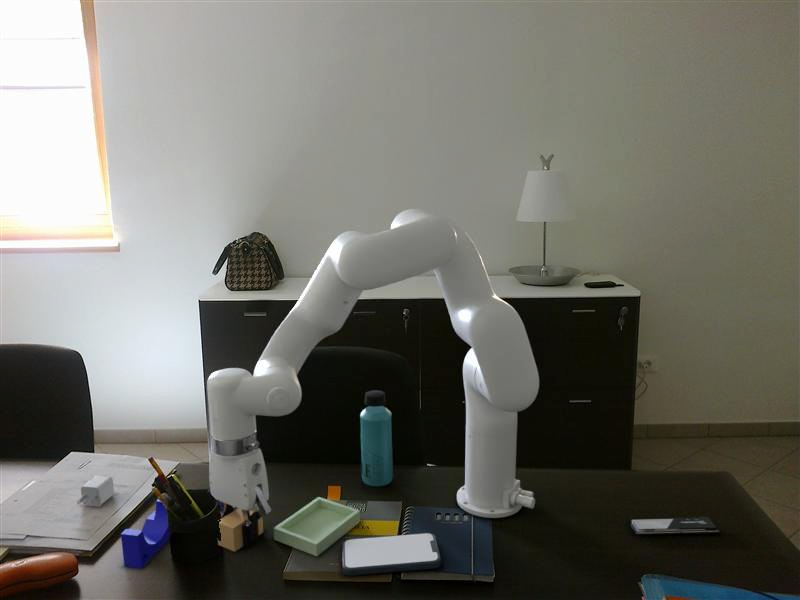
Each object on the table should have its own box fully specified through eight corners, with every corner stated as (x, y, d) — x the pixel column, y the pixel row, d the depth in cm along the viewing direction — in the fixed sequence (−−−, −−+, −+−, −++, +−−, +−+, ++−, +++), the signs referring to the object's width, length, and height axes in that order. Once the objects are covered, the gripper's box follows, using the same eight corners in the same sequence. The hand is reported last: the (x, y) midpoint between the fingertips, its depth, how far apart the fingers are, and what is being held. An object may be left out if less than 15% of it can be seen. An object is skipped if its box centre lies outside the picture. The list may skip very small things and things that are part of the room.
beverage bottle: (399, 483, 138) (398, 390, 134) (381, 497, 133) (379, 401, 128) (373, 475, 141) (371, 384, 137) (354, 488, 136) (351, 394, 132)
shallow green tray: (360, 521, 124) (360, 510, 124) (316, 556, 114) (316, 544, 113) (319, 507, 129) (318, 496, 129) (273, 539, 119) (273, 528, 118)
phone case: (342, 578, 108) (442, 570, 110) (342, 570, 108) (442, 561, 109) (342, 547, 117) (434, 539, 118) (341, 538, 116) (434, 531, 118)
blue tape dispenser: (155, 526, 123) (152, 496, 122) (178, 528, 122) (175, 498, 121) (116, 565, 112) (112, 532, 110) (141, 568, 111) (137, 535, 110)
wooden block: (263, 532, 121) (262, 509, 120) (234, 552, 115) (233, 528, 114) (247, 526, 123) (245, 503, 122) (218, 545, 117) (216, 521, 116)
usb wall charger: (114, 495, 134) (112, 476, 133) (93, 513, 128) (90, 494, 127) (96, 493, 135) (93, 475, 134) (74, 512, 128) (71, 492, 127)
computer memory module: (636, 531, 118) (628, 518, 122) (636, 536, 118) (628, 523, 122) (720, 529, 119) (709, 516, 122) (719, 534, 119) (709, 521, 123)
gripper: (286, 444, 114) (291, 541, 118) (216, 423, 122) (223, 515, 127) (255, 461, 108) (261, 564, 112) (183, 438, 116) (191, 534, 120)
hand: (241, 537), depth 119 cm, fingers closed on wooden block, 4 cm apart
